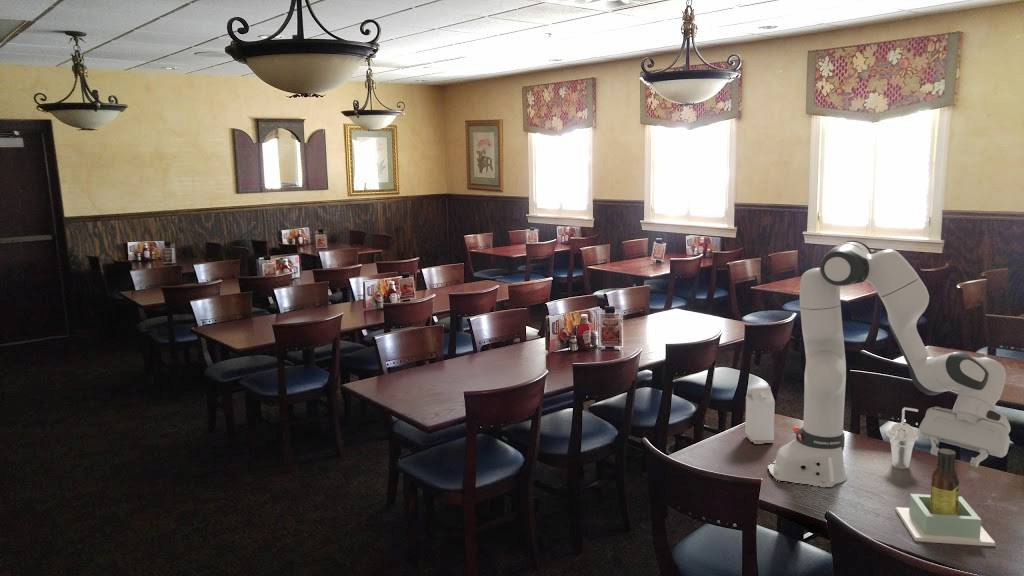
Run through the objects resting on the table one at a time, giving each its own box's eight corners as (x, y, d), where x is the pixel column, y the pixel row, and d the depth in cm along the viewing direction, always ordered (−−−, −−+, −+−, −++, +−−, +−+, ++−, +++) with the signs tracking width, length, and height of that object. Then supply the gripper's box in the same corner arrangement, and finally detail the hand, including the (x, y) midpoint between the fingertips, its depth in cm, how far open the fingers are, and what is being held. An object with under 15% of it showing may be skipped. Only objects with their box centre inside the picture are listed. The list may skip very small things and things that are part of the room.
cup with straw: (908, 460, 228) (912, 399, 225) (921, 472, 220) (926, 409, 216) (880, 459, 229) (884, 399, 226) (892, 472, 220) (896, 409, 217)
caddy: (915, 541, 182) (916, 519, 181) (895, 510, 198) (896, 490, 197) (994, 546, 179) (996, 523, 177) (968, 514, 194) (970, 493, 193)
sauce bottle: (960, 530, 184) (966, 457, 181) (933, 529, 186) (939, 456, 182) (950, 518, 191) (956, 447, 187) (924, 516, 192) (929, 446, 188)
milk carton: (745, 437, 251) (746, 385, 248) (764, 435, 252) (766, 383, 248) (753, 445, 244) (754, 391, 241) (773, 443, 245) (775, 390, 241)
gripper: (926, 399, 198) (907, 442, 193) (1013, 418, 182) (994, 466, 178) (932, 410, 201) (914, 453, 197) (1017, 430, 185) (1000, 477, 181)
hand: (953, 459), depth 187 cm, fingers open, 8 cm apart
